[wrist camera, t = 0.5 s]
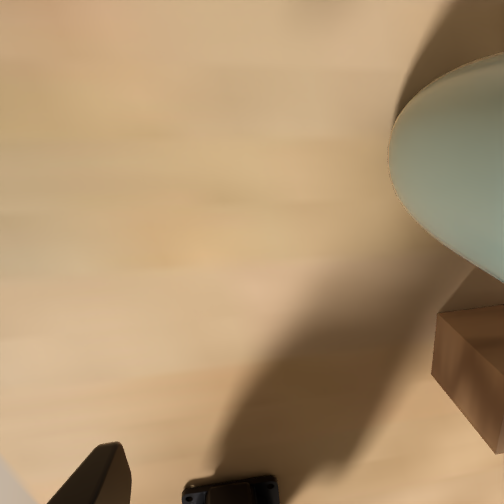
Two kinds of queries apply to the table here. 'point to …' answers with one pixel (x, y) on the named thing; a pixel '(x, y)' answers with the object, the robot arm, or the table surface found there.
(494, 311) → the walnut block
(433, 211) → the cup
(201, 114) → the table surface
